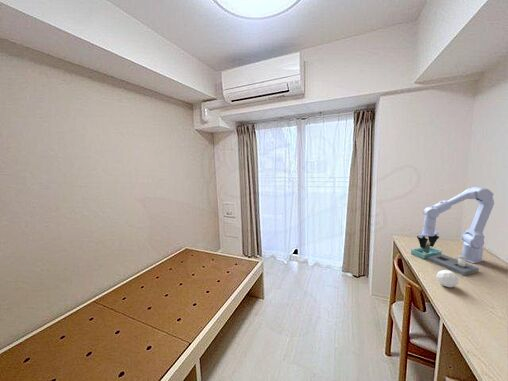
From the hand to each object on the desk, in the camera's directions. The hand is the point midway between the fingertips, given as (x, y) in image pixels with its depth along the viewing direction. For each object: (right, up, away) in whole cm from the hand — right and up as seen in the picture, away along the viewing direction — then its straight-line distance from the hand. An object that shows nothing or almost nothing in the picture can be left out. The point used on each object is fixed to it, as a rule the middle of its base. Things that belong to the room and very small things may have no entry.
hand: (426, 247), depth 134 cm
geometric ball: (-16, -11, -31) cm, 36 cm away
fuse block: (+4, -7, -13) cm, 15 cm away
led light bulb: (0, -5, +1) cm, 5 cm away
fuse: (+5, -8, -17) cm, 19 cm away
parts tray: (0, -5, +1) cm, 5 cm away
